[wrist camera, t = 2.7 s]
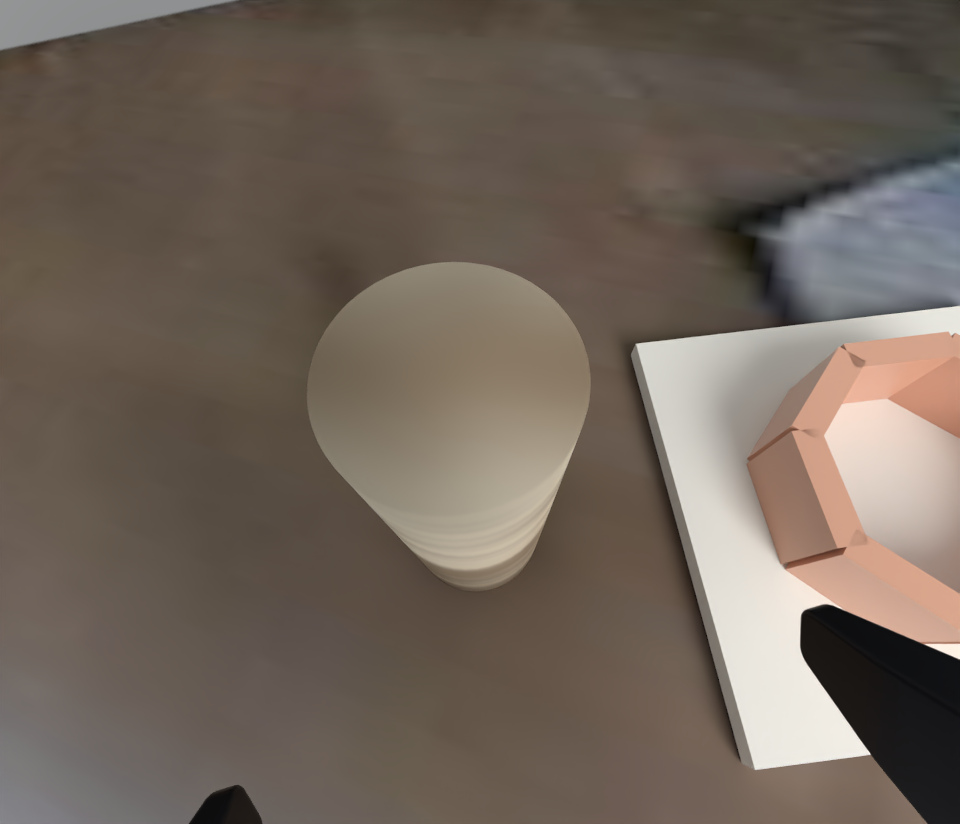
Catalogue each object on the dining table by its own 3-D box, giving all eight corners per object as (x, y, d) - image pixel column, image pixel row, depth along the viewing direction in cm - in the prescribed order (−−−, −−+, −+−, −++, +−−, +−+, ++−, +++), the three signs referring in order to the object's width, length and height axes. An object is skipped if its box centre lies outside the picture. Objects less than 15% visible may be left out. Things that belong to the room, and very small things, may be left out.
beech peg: (547, 582, 20) (619, 494, 8) (419, 599, 20) (303, 533, 8) (528, 460, 22) (562, 248, 10) (411, 475, 22) (309, 277, 10)
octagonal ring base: (1201, 702, 18) (1413, 720, 14) (741, 763, 17) (816, 800, 13) (967, 315, 24) (1062, 249, 20) (630, 355, 24) (657, 295, 20)
